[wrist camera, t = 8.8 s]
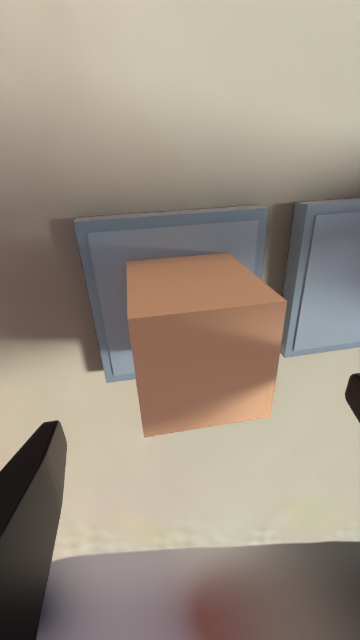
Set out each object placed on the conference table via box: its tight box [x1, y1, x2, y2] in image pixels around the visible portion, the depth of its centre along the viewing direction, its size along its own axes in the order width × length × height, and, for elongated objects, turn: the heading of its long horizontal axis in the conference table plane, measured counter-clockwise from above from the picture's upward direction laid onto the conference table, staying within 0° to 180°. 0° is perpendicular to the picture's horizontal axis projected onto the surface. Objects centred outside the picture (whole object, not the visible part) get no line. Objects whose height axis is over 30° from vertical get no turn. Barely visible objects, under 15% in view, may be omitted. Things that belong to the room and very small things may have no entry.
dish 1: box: [73, 205, 268, 383], centre depth 16 cm, size 9×9×1 cm
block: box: [126, 253, 287, 437], centre depth 13 cm, size 5×5×6 cm
